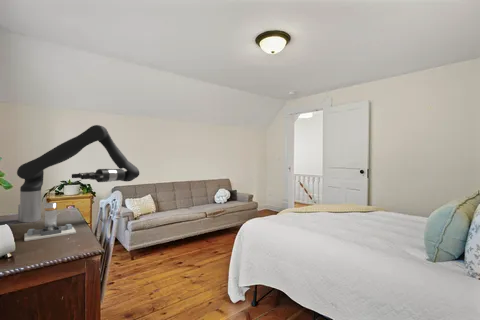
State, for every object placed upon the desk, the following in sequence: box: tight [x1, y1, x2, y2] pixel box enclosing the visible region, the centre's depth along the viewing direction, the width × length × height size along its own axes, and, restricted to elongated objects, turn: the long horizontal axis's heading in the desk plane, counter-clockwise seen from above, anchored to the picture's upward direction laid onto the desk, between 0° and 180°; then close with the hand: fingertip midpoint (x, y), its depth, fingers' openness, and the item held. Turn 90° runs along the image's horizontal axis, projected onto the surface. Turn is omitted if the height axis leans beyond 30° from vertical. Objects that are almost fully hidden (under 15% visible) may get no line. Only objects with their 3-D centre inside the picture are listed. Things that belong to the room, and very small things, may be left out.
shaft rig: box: [23, 223, 77, 242], centre depth 118 cm, size 19×11×3 cm, turn 131°
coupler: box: [44, 202, 58, 232], centre depth 118 cm, size 5×5×14 cm
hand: (76, 176), depth 127 cm, fingers open, 8 cm apart
